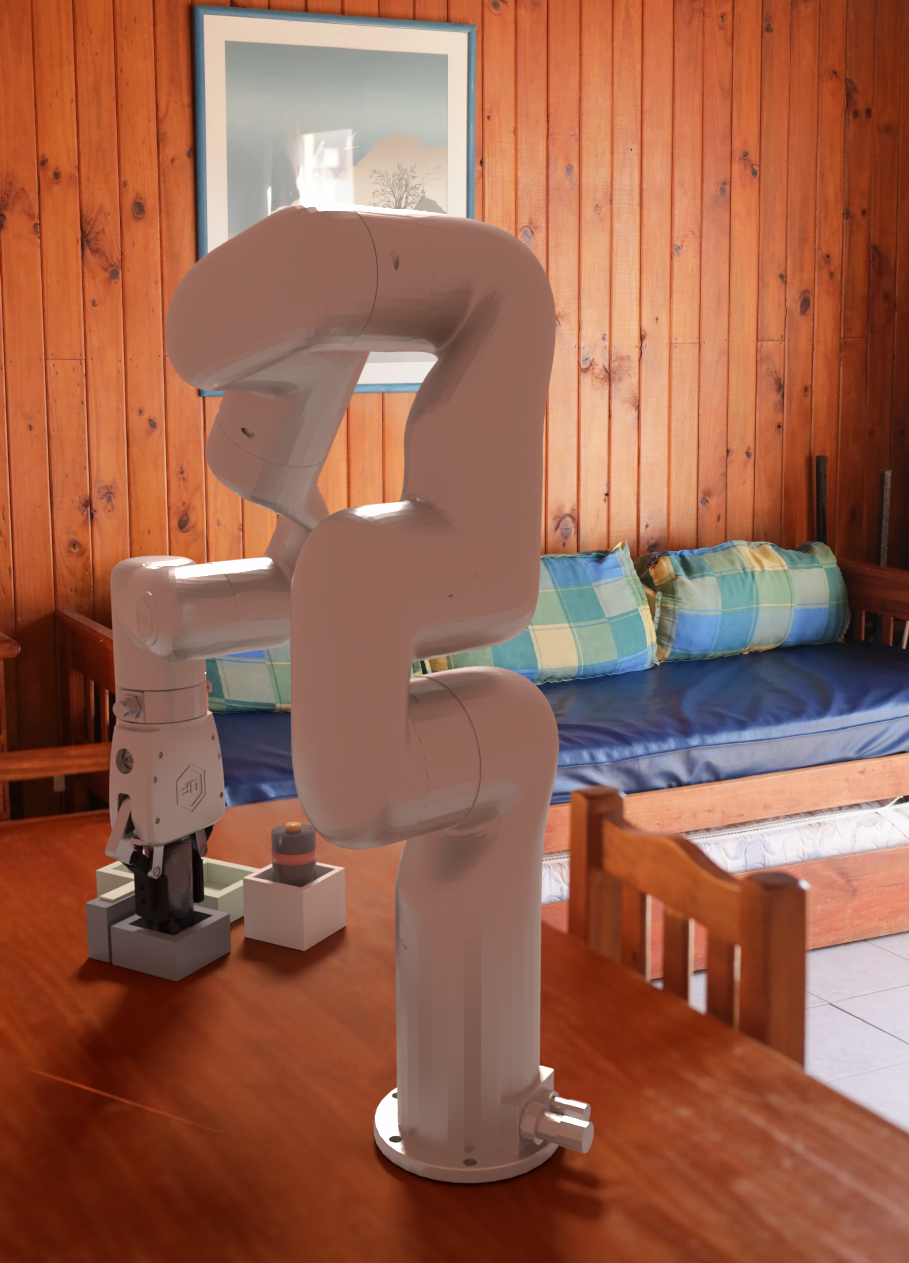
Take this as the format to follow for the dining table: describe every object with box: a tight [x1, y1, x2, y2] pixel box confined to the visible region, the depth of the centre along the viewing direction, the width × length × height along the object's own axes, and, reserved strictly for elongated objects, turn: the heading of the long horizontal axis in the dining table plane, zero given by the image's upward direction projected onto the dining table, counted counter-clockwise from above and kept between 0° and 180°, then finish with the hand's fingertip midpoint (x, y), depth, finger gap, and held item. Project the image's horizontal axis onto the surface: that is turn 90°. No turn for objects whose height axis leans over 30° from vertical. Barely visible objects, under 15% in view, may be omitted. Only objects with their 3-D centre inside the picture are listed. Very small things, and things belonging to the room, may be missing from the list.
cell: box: [143, 835, 195, 936], centre depth 117 cm, size 4×4×10 cm
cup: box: [243, 821, 347, 952], centre depth 123 cm, size 7×7×10 cm
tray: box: [95, 849, 261, 924], centre depth 131 cm, size 15×8×3 cm, turn 61°
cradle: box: [85, 881, 232, 983], centre depth 118 cm, size 10×7×5 cm
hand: (170, 906), depth 117 cm, fingers closed on cell, 4 cm apart
